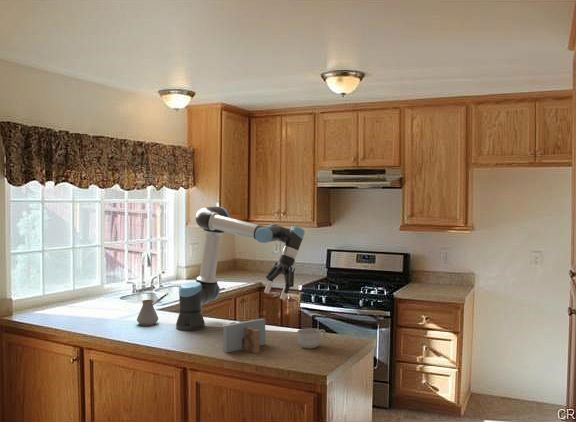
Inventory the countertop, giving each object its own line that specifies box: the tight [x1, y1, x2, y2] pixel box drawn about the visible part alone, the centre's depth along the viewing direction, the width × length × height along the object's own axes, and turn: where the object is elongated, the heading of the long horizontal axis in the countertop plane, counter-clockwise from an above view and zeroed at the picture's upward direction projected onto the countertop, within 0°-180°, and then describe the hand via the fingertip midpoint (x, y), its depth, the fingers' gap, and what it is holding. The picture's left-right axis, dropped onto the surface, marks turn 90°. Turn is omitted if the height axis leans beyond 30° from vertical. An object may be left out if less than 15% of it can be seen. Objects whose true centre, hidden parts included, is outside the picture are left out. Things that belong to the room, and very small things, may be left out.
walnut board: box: [229, 321, 261, 354], centre depth 255 cm, size 20×2×10 cm, turn 40°
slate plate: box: [222, 317, 266, 354], centre depth 255 cm, size 2×22×12 cm, turn 130°
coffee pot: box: [136, 292, 171, 327], centre depth 304 cm, size 21×12×15 cm, turn 146°
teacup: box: [297, 327, 327, 349], centre depth 257 cm, size 14×11×8 cm
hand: (274, 296), depth 276 cm, fingers open, 13 cm apart
